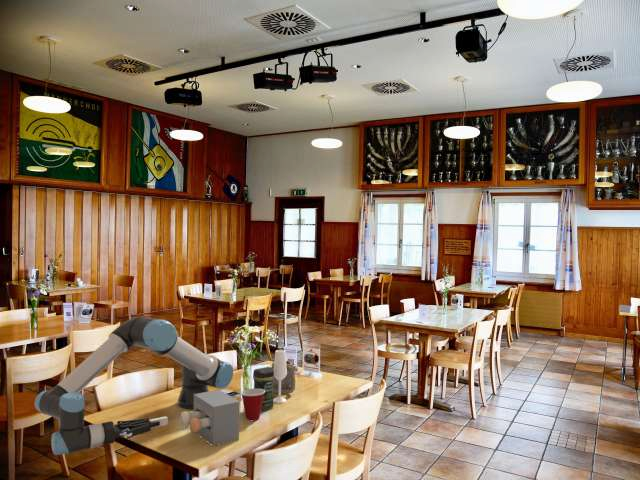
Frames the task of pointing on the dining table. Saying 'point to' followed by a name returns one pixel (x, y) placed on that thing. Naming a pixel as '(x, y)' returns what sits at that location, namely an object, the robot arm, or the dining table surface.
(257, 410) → the plastic cup
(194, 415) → the ivory knob
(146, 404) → the dining table surface
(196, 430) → the terracotta knob
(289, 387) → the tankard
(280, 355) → the champagne flute
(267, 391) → the coffee jar
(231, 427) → the block
